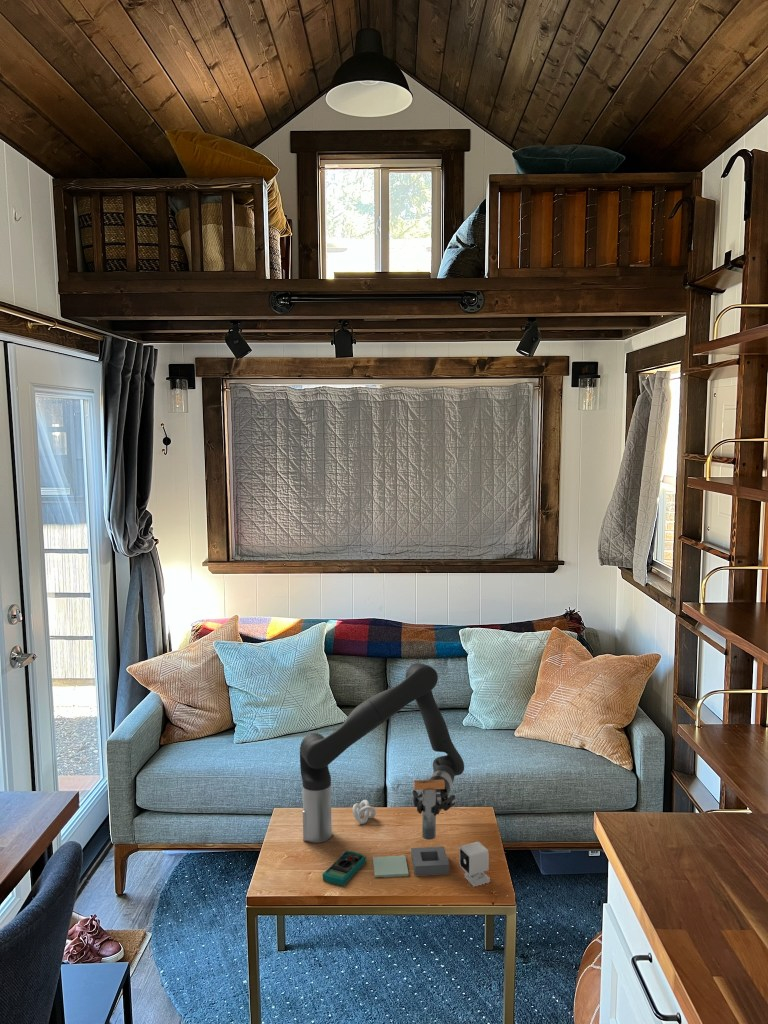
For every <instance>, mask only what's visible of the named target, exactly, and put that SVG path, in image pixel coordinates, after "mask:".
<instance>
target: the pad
mask: <svg viewBox="0 0 768 1024" xmlns="http://www.w3.org/2000/svg"><path fill="white" fill-rule="evenodd" d="M373 866H374V867H373ZM372 867H373V873H374V879H377V878H376V877H384V878H400V877H402V876H403V877H409V876H410V875H409V873H410V872H409V868H408V864H407V857H406V855H389V856H388V855H387V856H372Z"/></svg>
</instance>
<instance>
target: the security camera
mask: <svg viewBox="0 0 768 1024" xmlns="http://www.w3.org/2000/svg"><path fill="white" fill-rule="evenodd" d="M458 851H459V852H458V853H459V855H458V858H459V867H460V868H461V869H462V870H463V871H464V872H465V873H464V879H465V878H466V879H467V880H468V883H470V885H472V886H473V887H474V888H475V886H476V887H479V886H478V885H480V886H482V884H483V885H486V884H485V883H487V884H490V883H491V877H490V876H489V875H487V873H485V872H487V871H490V870H489V866H490V865H489V863H490V862H489V861H490V858H489V857H490V856H489V855H490V854H489V853H490V852H489V850H488V848H486V847H485V846H484V845H483V844H482V843H481V842H480V841H475V842H471V843H467V844H463V845H460V846H459V849H458ZM466 879H465V880H466ZM467 880H466V881H467ZM489 882H490V883H489Z"/></svg>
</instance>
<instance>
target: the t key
mask: <svg viewBox="0 0 768 1024" xmlns="http://www.w3.org/2000/svg"><path fill="white" fill-rule="evenodd" d="M413 788H414V789H413V790H416V791H423V807H422V813H421V814H422V821H421V822H422V823H421V826H422V827H421V828H422V836H421V837H422V838H423V839H424V840H429V841H430V840H435V838H436V837H437V836H436V835H437V829H436V827H437V826H436V823H437V822H436V821H437V818H436V817H437V815H436V816H434V807H435V805H436V789H445V782H444V780H429V779H424V780H422V779H421V780H413Z"/></svg>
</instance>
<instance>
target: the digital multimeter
mask: <svg viewBox="0 0 768 1024" xmlns="http://www.w3.org/2000/svg"><path fill="white" fill-rule="evenodd" d="M366 863H367V857H366V856H365V855H363V854H361V853H359V852H355V851H350V850H345V851H344V852H343V853H342V854H341V855H340V856H339V858H337V859H336V861H335V862H334V863H332V864H331V866H330V867H328V868H327V869H326V870H325V871H324V872H323V873H322V880H323V881H324V882H327V883H329V884H332V885H333V884H334V885H337V886H341V887H342V886H343V887H344V886H345V885H347V883H348V882H349V881H350V880H351V878H352V877H353V876H354V875H355V874H356V873H357V872H359V870H360V869H361V868H362V867H363V866H364V865H365V864H366Z"/></svg>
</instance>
